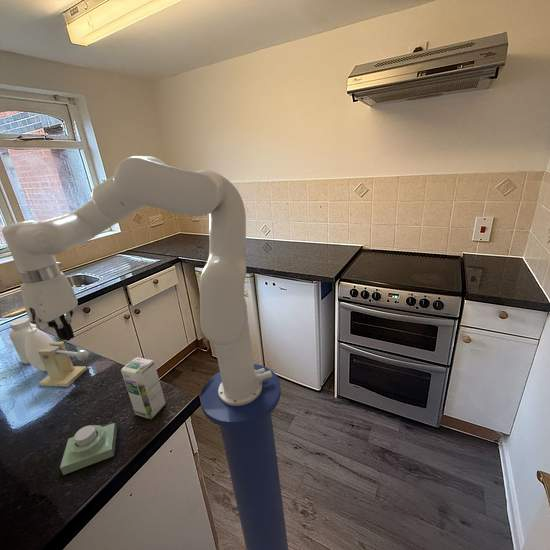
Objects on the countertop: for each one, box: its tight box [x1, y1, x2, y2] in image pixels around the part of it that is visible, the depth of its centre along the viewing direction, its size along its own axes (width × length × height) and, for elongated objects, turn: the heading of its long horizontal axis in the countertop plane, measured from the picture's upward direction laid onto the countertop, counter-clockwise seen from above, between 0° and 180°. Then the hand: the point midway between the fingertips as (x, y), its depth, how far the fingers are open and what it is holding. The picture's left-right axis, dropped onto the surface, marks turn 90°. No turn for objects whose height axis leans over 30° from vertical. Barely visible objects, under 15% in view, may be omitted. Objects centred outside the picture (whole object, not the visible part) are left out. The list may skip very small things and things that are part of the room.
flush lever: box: [47, 346, 90, 362], centre depth 91 cm, size 13×3×3 cm, turn 81°
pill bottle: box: [9, 317, 40, 364], centre depth 105 cm, size 8×8×15 cm
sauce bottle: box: [25, 323, 54, 372], centre depth 97 cm, size 8×8×18 cm
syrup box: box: [120, 356, 167, 420], centre depth 77 cm, size 6×6×14 cm
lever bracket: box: [38, 341, 88, 388], centre depth 93 cm, size 10×8×12 cm
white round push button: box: [73, 424, 97, 447], centre depth 67 cm, size 4×4×2 cm
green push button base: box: [59, 422, 118, 476], centre depth 68 cm, size 10×8×4 cm
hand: (67, 338), depth 78 cm, fingers closed
